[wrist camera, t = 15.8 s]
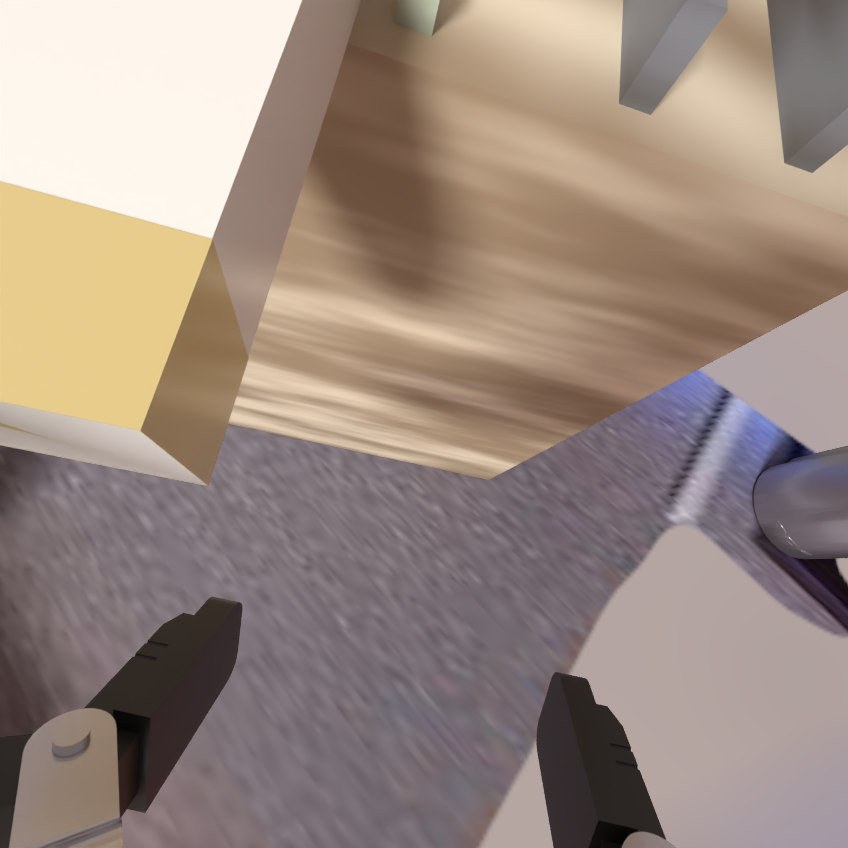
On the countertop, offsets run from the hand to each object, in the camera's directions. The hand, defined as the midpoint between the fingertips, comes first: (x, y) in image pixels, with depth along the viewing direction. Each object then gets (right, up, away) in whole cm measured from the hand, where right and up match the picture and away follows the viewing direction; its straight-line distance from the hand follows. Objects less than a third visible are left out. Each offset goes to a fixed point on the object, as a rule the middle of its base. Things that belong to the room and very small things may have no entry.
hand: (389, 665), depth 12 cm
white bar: (-2, +17, -2) cm, 17 cm away
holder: (-3, +9, +30) cm, 31 cm away
